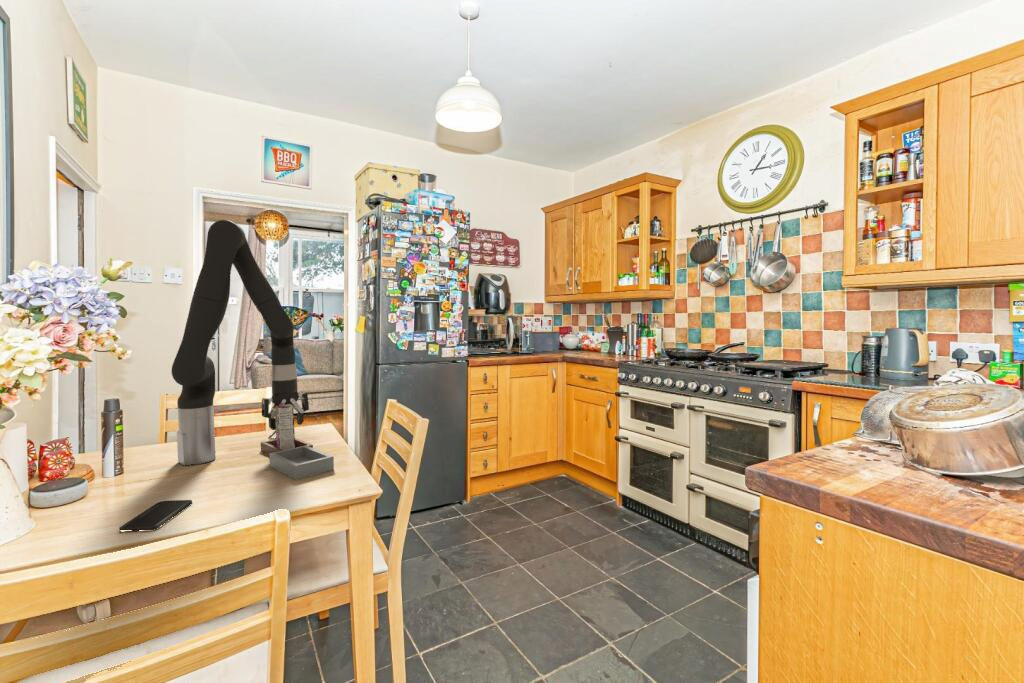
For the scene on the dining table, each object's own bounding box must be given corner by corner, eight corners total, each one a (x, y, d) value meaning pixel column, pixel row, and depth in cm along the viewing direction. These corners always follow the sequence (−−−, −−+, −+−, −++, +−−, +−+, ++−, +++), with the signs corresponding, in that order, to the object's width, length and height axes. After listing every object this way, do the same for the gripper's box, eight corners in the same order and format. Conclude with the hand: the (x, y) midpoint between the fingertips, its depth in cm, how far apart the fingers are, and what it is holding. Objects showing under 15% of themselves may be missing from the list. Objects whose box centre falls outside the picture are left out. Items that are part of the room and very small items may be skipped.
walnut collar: (281, 461, 149) (281, 451, 149) (260, 451, 160) (260, 442, 160) (313, 453, 157) (312, 444, 157) (291, 444, 167) (290, 436, 167)
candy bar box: (275, 449, 162) (274, 401, 161) (291, 447, 164) (290, 399, 163) (278, 458, 152) (276, 407, 151) (295, 455, 155) (294, 405, 154)
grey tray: (295, 480, 133) (295, 465, 133) (269, 466, 144) (269, 453, 144) (333, 469, 141) (333, 456, 141) (306, 457, 153) (305, 445, 152)
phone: (194, 499, 118) (155, 527, 103) (194, 504, 118) (156, 532, 103) (159, 501, 117) (115, 529, 102) (159, 505, 117) (116, 534, 102)
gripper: (300, 374, 164) (302, 421, 165) (256, 379, 154) (259, 429, 155) (311, 376, 159) (313, 424, 160) (266, 381, 149) (268, 433, 150)
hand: (286, 426), depth 158 cm, fingers open, 8 cm apart
